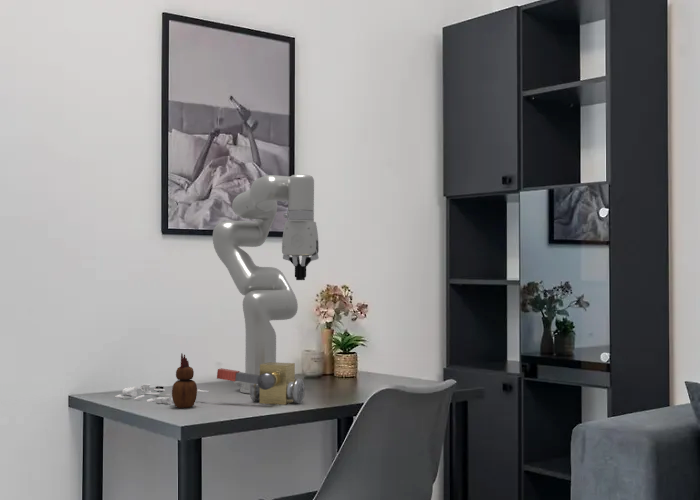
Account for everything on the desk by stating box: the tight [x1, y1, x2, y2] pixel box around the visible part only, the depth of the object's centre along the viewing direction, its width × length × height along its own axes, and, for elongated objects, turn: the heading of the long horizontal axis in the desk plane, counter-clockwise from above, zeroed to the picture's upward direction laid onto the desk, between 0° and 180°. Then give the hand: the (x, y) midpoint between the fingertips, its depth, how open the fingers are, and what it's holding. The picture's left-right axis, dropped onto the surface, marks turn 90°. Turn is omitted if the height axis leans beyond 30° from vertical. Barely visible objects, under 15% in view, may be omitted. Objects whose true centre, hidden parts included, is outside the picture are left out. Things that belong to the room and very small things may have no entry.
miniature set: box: [114, 379, 210, 405], centre depth 261 cm, size 6×35×12 cm
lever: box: [216, 367, 276, 390], centre depth 251 cm, size 4×3×17 cm
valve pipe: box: [249, 361, 305, 406], centre depth 255 cm, size 14×10×11 cm
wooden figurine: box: [171, 352, 198, 409], centre depth 246 cm, size 7×6×15 cm
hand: (300, 279), depth 261 cm, fingers closed
